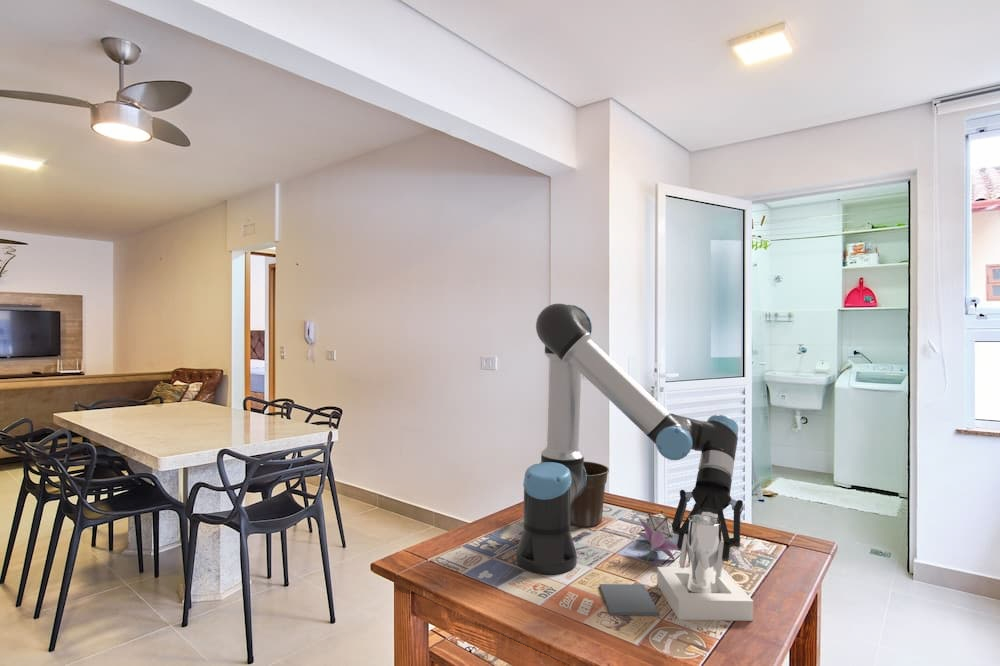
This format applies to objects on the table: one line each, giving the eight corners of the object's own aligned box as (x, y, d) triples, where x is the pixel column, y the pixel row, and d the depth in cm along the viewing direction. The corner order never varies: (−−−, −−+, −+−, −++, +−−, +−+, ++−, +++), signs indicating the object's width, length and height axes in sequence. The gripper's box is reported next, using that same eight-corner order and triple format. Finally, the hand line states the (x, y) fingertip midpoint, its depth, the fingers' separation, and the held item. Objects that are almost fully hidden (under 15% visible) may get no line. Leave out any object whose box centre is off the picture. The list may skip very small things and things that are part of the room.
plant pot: (571, 533, 154) (572, 477, 154) (544, 515, 169) (545, 463, 169) (619, 526, 160) (619, 471, 160) (589, 508, 175) (590, 459, 175)
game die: (665, 557, 147) (683, 536, 142) (636, 546, 148) (653, 524, 142) (664, 531, 155) (681, 510, 150) (636, 520, 155) (652, 498, 150)
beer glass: (724, 589, 117) (727, 520, 117) (711, 600, 112) (714, 528, 111) (692, 577, 122) (695, 511, 121) (679, 588, 117) (681, 519, 116)
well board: (678, 619, 109) (679, 600, 109) (657, 584, 124) (657, 566, 124) (753, 620, 109) (753, 601, 109) (722, 585, 124) (723, 567, 124)
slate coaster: (610, 614, 111) (610, 611, 111) (599, 586, 123) (599, 583, 123) (659, 615, 111) (659, 612, 111) (643, 587, 123) (643, 584, 123)
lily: (684, 577, 130) (693, 537, 134) (640, 559, 129) (650, 519, 133) (659, 571, 142) (668, 534, 145) (619, 554, 140) (629, 518, 144)
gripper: (761, 490, 125) (751, 589, 111) (674, 476, 134) (655, 565, 121) (760, 473, 120) (749, 574, 106) (670, 459, 130) (649, 550, 116)
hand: (699, 569), depth 114 cm, fingers closed on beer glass, 7 cm apart
